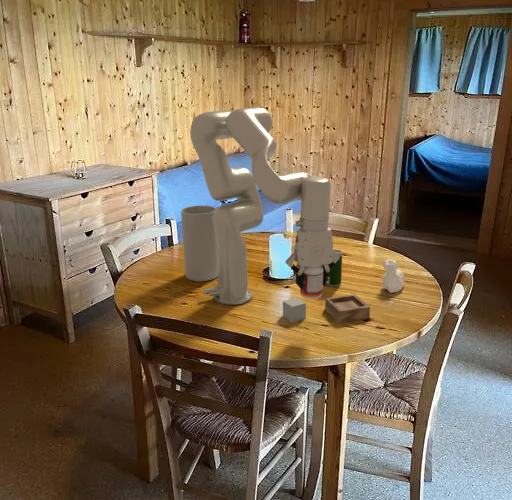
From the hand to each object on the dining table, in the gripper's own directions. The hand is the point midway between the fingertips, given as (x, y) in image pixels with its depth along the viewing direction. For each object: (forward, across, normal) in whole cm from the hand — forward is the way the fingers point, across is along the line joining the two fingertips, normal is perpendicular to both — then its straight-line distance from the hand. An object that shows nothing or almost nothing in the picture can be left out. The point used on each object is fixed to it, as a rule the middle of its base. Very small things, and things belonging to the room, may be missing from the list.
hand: (311, 284), depth 146 cm
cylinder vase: (+16, -21, +52) cm, 58 cm away
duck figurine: (+14, +38, +19) cm, 44 cm away
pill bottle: (+3, 0, 0) cm, 3 cm away
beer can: (+15, +21, +29) cm, 38 cm away
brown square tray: (+14, +15, +6) cm, 21 cm away
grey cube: (+14, -1, +9) cm, 17 cm away
